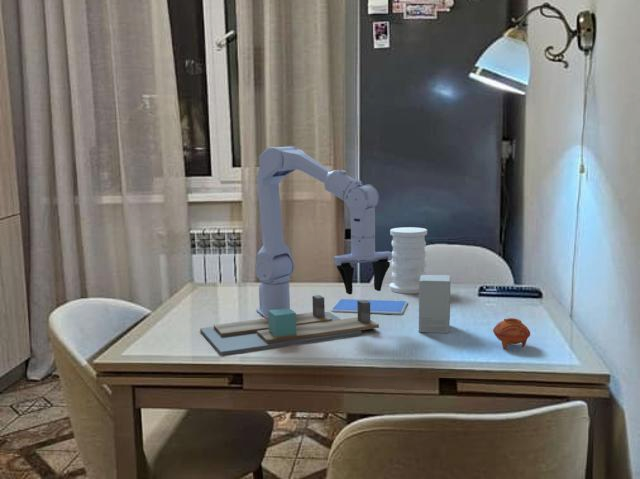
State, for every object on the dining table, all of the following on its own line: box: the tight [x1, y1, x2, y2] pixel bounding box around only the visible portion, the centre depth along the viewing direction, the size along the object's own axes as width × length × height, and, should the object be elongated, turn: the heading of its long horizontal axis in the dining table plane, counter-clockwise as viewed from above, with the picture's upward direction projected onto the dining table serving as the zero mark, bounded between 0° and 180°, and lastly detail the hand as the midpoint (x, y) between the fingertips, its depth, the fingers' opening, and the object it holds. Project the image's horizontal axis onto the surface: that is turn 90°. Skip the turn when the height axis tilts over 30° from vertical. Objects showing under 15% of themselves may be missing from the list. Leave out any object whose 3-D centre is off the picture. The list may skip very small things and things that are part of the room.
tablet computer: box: [330, 298, 409, 316], centre depth 190 cm, size 19×13×1 cm, turn 76°
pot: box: [492, 317, 531, 350], centre depth 154 cm, size 8×8×7 cm
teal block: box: [268, 308, 297, 337], centre depth 162 cm, size 5×5×5 cm
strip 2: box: [257, 299, 380, 343], centre depth 165 cm, size 8×28×6 cm, turn 112°
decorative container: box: [388, 226, 428, 295], centre depth 209 cm, size 12×12×18 cm
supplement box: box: [418, 274, 451, 334], centre depth 168 cm, size 7×7×13 cm
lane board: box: [199, 311, 363, 356], centre depth 168 cm, size 20×34×1 cm, turn 112°
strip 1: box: [213, 294, 332, 337], centre depth 171 cm, size 8×28×6 cm, turn 112°
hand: (363, 291), depth 169 cm, fingers open, 7 cm apart
